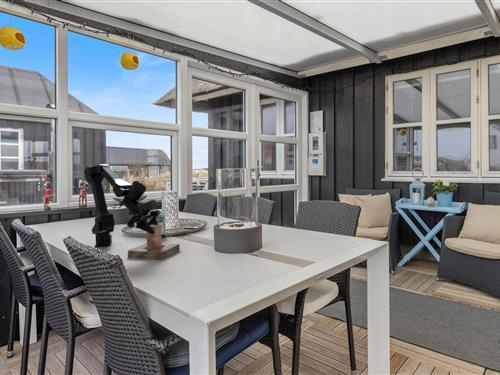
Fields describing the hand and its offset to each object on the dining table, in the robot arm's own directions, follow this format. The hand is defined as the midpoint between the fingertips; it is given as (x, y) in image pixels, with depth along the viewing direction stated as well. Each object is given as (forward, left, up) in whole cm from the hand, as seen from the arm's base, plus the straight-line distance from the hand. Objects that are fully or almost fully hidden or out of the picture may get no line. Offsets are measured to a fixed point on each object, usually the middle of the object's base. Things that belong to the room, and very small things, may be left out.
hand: (156, 232), depth 150 cm
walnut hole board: (-1, 0, -10) cm, 10 cm away
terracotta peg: (-1, +1, -7) cm, 7 cm away
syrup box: (-4, +39, -10) cm, 41 cm away
